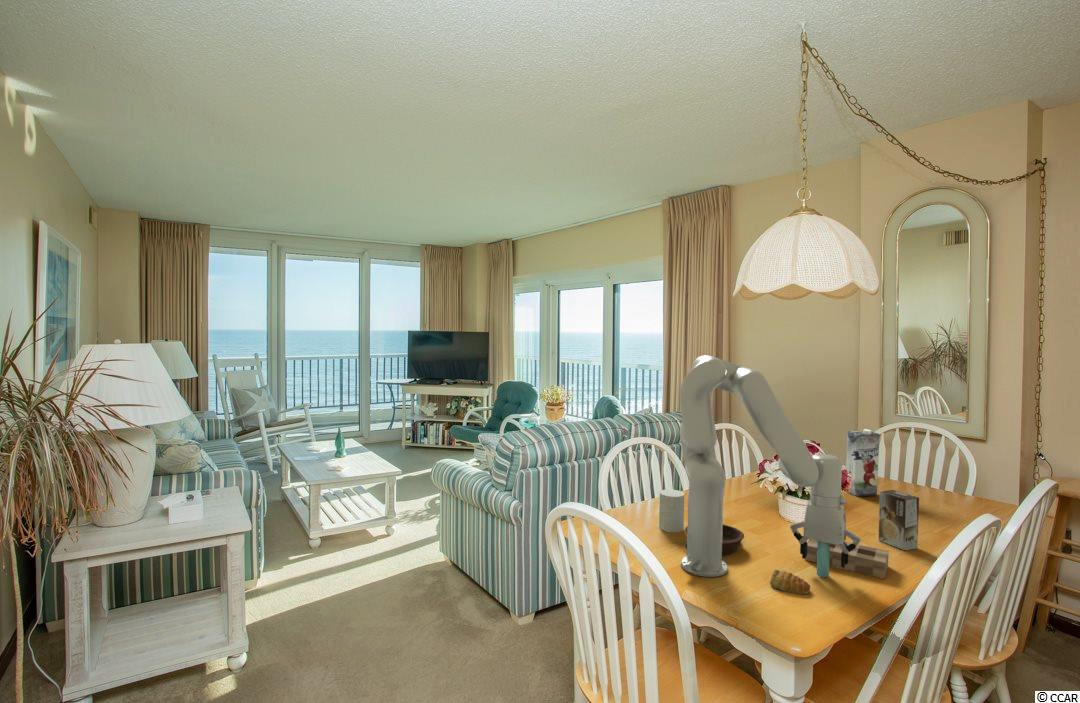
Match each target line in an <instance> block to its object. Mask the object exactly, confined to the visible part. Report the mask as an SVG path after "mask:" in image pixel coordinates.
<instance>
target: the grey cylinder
mask: <svg viewBox="0 0 1080 703" xmlns="http://www.w3.org/2000/svg"><path fill="white" fill-rule="evenodd" d="M658 509H659V510H658V511H659V513H658V515H659V516H658V528H659V530H661V529H662V531H663V532H667V531H669V532H668V533H680V532H679V531H681V532H683V531H684V530H685V492H683V491H681V490H677V489H672V488H671V489H662V490H659V508H658ZM683 529H684V530H683ZM682 530H683V531H682Z"/></svg>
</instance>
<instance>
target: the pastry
mask: <svg viewBox="0 0 1080 703" xmlns="http://www.w3.org/2000/svg"><path fill="white" fill-rule="evenodd" d="M769 584H770V585H771V587H773V588H774V587H775V589H780V590H781V591H783V590H784V592H786V591H788V593H791V592H794V593H793V594H796V593H801V594H800V595H807V594H808V593H810V591H811V585H810V583H809V582H807V581H806V580H805V579H802V578H801V577H799V576H798V575H794V574H793V573H792V572H787V571H786V570H782V571H781V570H779V569H774V570H773V571H772V574H771V577H770V582H769ZM806 593H807V594H806Z"/></svg>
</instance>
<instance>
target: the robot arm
mask: <svg viewBox="0 0 1080 703" xmlns="http://www.w3.org/2000/svg"><path fill="white" fill-rule="evenodd" d="M690 368H691V369H690V371H688V373H687V374H686V376H685V377H684V378H683V381H682V383H681V386H680V390H679V403H680V404H679V405H680V413H681V414H680V415H681V424H680V427H679V438H680V444H681V451H682V458H683V463H684V464H683V465H684V468H685V471H686V474H687V477H688V496H687V526H688V531H687V534H686V535H687V536H686V537H687V538H686V541H687V549H686V556H684V557H683V558H681V561H680V565H681V567H682V569H684V570H685V571H686V572H688V573H689V574H692V575H695V576H700V577H706V578H714V577H715V578H717V577H721V576H723V575H725V574H726V573H728V565H727V563H726V562H725V561H724V560H723V555H722V530H723V522H724V495H725V489H726V474H725V471H724V468H723V466H722V464H721V463H720V461H719V460H718V459H717V453H716V452H717V451H716V447H715V446H716V444H717V440H718V435H717V430H716V425H715V420H714V413H713V405H712V396H713V392H714V391H715V389H718V390H722V391H725V392H728V393H731V394H735V395H737V396H738V397H739V399H740V400H741V403H742V405H743V406H744V408H745V409H746V412H747V414H748V415H749V417H750V419H751V421H752V423H753V424H754V426H755V427H756V429H757V431H758V432H759V434H760V435H761V437H763V439H764V440H765V441H766V442H768V444H769V445H770V446H771V447H772V449H773V450H774V451H775V453H776V455H777V456H778V458H779V460H778V468H779V470H780V471H781V473H782V474H783V475H784V476H785V477H786V478H787V479H789V481H791V482H792V483H793V484H795V485H796V486H797V487H799V488H800V487H801V488H809V487H810V490H809V500H808V501H807V502H806V503H807V504H806V507H805V512H804V520H802V521H799V522H796V523H792V524H790V526H789V528H790V530H791V532H792V533H793V536H794V537H795V539H796V540H797V541H798V543H799V544H800V546H799V547H800V548H799V555H802V556H801V558H802V559H804V560H805V558H806V556H807V542H808V541H809V539H811V540H815V541H820V542H824V543H829V544H834V545H839V547H840V548H841V549H842V553H841V567H842V568H844V567H845V564H848V553H849V552H850V551H852V550H854V549H855V548H856V546H857V545H860V544H859V543H860V542H861V538H860V536H858V535H857V534H855V533H853V532H852V531H850V530H849V529H847V519H846V511H845V507H844V506H843V505H847V503H848V500H847V499H846V498H844V497H842V478H843V477H842V475H843V474H842V473H843V470H842V468H843V467H842V466H843V464H842V459H841V458H840V457H838V456H836V455H833V454H828V453H827V454H826V453H818V454H812V453H811V452H810V450H809V448H808V447H807V445H806V443H805V442H804V441H803V439H802V437H801V435H800V434H799V433H798V432H797V429H796V428H795V427H794V425H793V423H792V421H791V420H790V419H789V417H788V415H787V414H786V412H785V411H784V409H783V408H782V405H781V404H780V401H779V400H778V398H777V397H776V395H775V392H774V391H773V389H772V387H771V386H770V384H769V382H768V380H767V379H766V377H765V376H764V375H763V373H761V372H760V371H758V370H757V369H753V368H750V367H747V366H742V365H739V364H736V363H733V362H729V361H727V360H724V359H721V358H718V357H716V356H712V355H707V354H705V355H701V356H698V357H696V359H695V360H694V361H693V362H692V365H691V367H690ZM801 528H803V534H801V532H800V531H799V530H798V529H801ZM847 537H848V539H851V540H852V542H850V543H851V544H850V545H847V543H846V542H847V540H846V539H847Z"/></svg>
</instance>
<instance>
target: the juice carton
mask: <svg viewBox="0 0 1080 703" xmlns="http://www.w3.org/2000/svg"><path fill="white" fill-rule="evenodd" d="M846 434H847V437H846V438H847V439H846V440H847V442H846V444H847V445H846V463H845V464H846V465H845V466H846V469H845V470H847V471H848V473H849V474H850V475H851V480H852V483H851V489H850V491H849V492H847V493H849V494H852V495H853V496H856V497H875V496H876V497H877V495H878V487H879V486H878V485H879V483H878V482H879V460H880V459H879V457H880V456H879V455H880V436H881V434H880V433H877V432H874V431H872V430H871V429H867V428H864V429H863V430H859V431H855V430H847V433H846Z"/></svg>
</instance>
